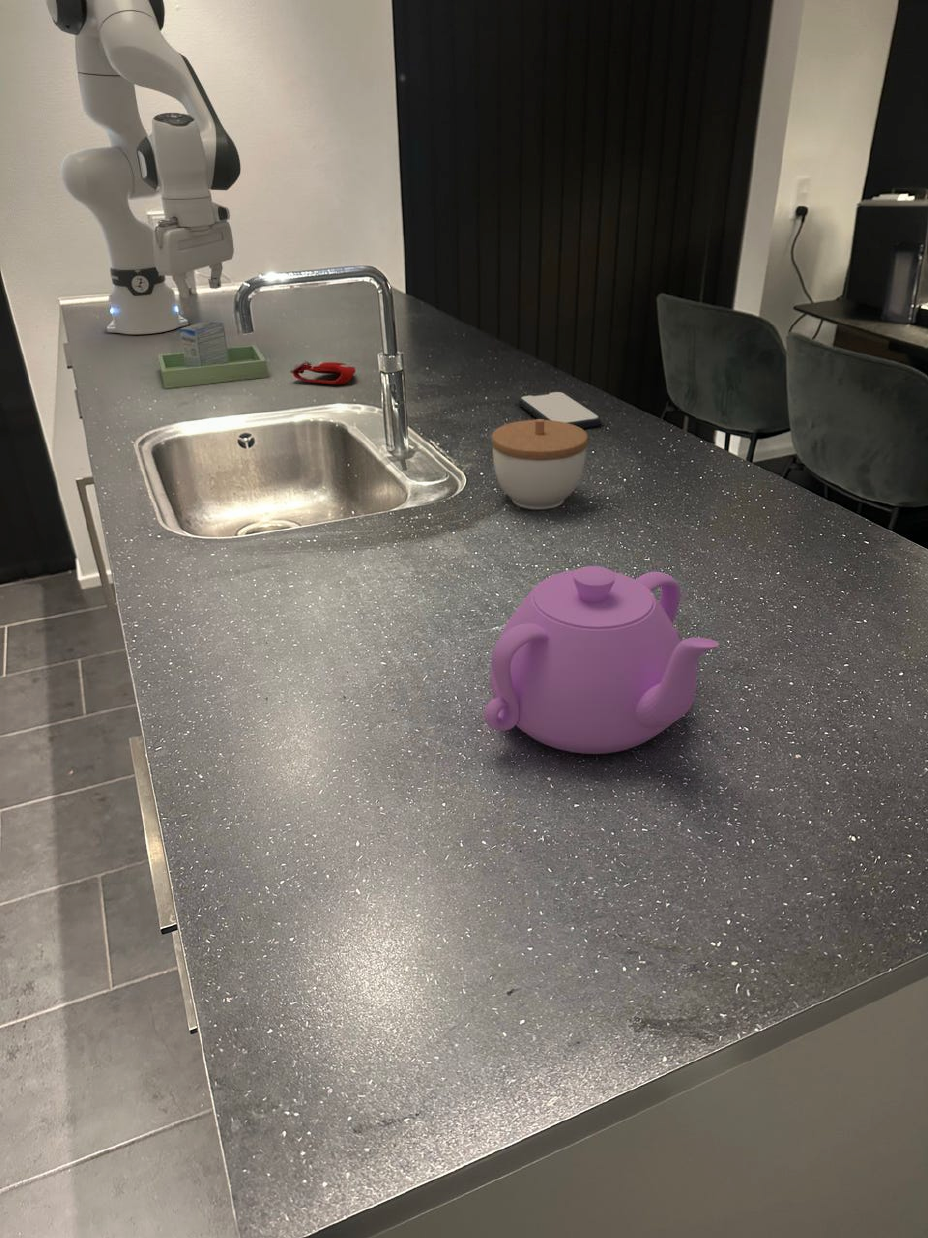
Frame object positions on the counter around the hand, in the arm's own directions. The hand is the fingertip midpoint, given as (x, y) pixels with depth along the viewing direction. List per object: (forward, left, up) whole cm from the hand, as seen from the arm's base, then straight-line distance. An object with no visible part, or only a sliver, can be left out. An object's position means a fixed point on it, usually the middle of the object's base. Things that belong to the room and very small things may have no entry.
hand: (201, 292), depth 173 cm
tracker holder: (+14, +20, -16) cm, 29 cm away
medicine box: (-1, -1, -15) cm, 15 cm away
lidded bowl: (+84, +34, -16) cm, 92 cm away
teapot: (+132, +19, -16) cm, 134 cm away
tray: (0, 0, -16) cm, 16 cm away
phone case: (+52, +52, -16) cm, 75 cm away
